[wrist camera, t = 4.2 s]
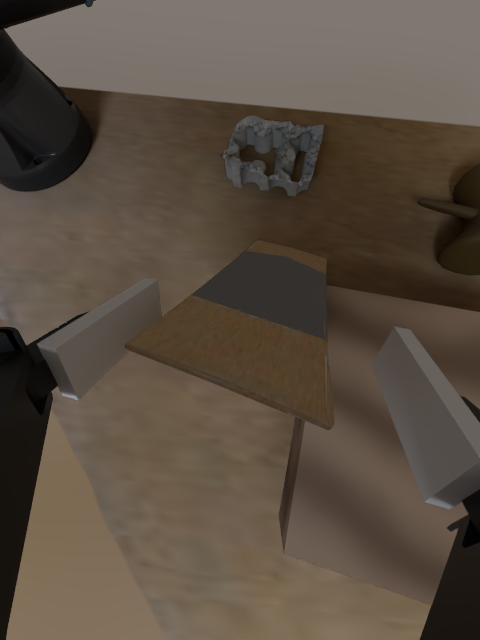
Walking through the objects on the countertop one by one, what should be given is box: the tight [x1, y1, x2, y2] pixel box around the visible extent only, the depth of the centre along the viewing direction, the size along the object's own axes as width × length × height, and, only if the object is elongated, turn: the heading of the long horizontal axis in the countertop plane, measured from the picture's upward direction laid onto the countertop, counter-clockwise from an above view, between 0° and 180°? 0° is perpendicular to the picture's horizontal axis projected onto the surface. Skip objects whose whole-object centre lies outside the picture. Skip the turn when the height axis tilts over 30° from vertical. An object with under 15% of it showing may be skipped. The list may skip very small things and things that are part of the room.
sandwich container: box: [124, 240, 335, 430], centre depth 17 cm, size 9×15×15 cm, turn 160°
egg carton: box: [220, 116, 324, 196], centre depth 26 cm, size 11×8×4 cm
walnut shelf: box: [279, 285, 480, 605], centre depth 18 cm, size 20×16×4 cm
